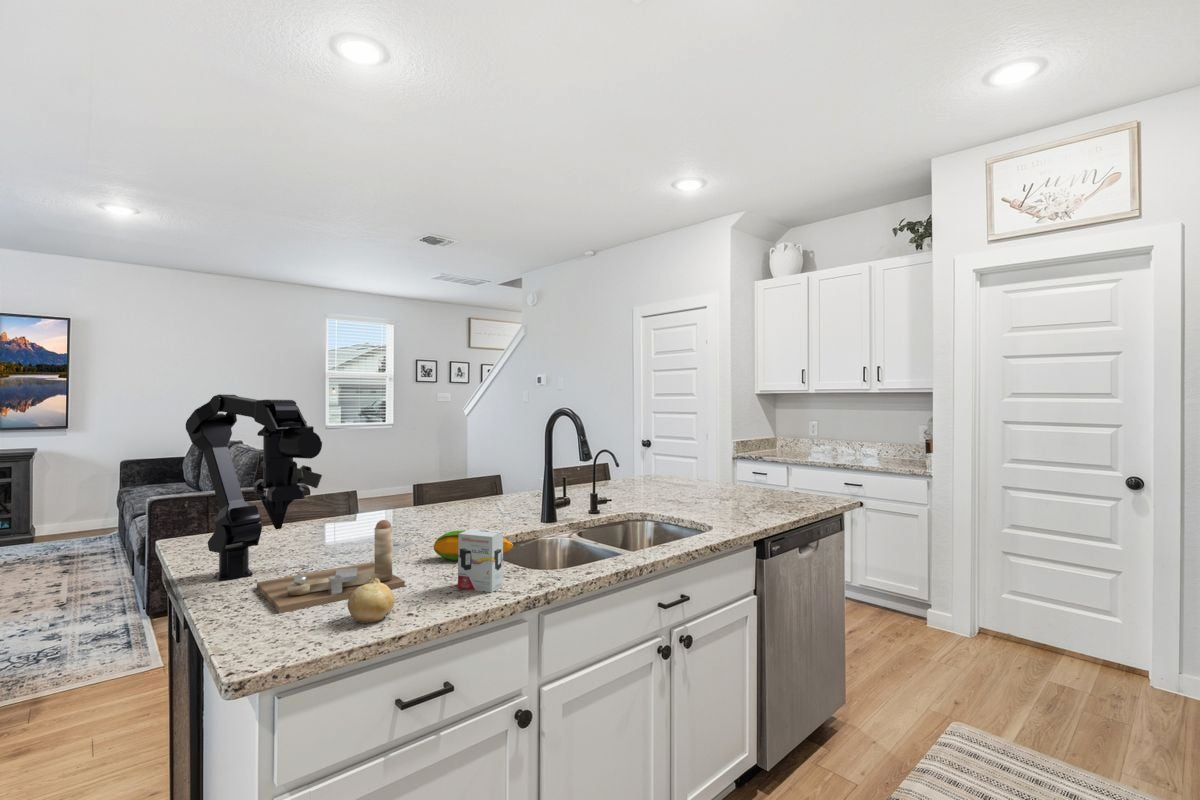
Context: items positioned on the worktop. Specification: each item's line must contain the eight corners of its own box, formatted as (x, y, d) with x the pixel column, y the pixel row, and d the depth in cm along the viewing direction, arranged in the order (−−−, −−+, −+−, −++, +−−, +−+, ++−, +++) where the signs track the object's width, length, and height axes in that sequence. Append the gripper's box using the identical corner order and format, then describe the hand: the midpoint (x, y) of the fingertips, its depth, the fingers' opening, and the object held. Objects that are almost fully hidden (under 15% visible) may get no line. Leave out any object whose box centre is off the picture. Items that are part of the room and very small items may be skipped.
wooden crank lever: (288, 596, 113) (288, 532, 113) (286, 590, 116) (286, 528, 117) (394, 579, 124) (394, 520, 124) (389, 574, 127) (389, 517, 127)
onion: (402, 618, 105) (402, 579, 105) (358, 630, 100) (358, 589, 100) (383, 608, 111) (383, 571, 111) (340, 618, 105) (340, 579, 105)
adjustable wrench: (383, 571, 137) (383, 563, 137) (356, 571, 137) (356, 564, 137) (414, 545, 162) (414, 538, 162) (391, 545, 162) (391, 539, 162)
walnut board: (256, 588, 123) (256, 582, 123) (371, 567, 139) (371, 562, 139) (279, 613, 108) (279, 606, 108) (404, 586, 124) (404, 581, 124)
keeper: (292, 593, 116) (292, 577, 116) (354, 581, 124) (354, 566, 124) (302, 602, 110) (303, 586, 110) (367, 589, 118) (367, 573, 118)
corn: (437, 526, 150) (515, 525, 150) (438, 554, 150) (515, 554, 151) (430, 534, 142) (511, 533, 143) (430, 564, 143) (512, 563, 143)
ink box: (456, 588, 123) (456, 532, 123) (469, 582, 127) (469, 528, 127) (491, 593, 120) (491, 535, 120) (503, 586, 124) (503, 531, 124)
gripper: (330, 457, 124) (330, 530, 124) (306, 452, 138) (306, 517, 138) (272, 460, 117) (272, 538, 117) (253, 455, 131) (253, 524, 131)
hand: (278, 528), depth 126 cm, fingers closed
